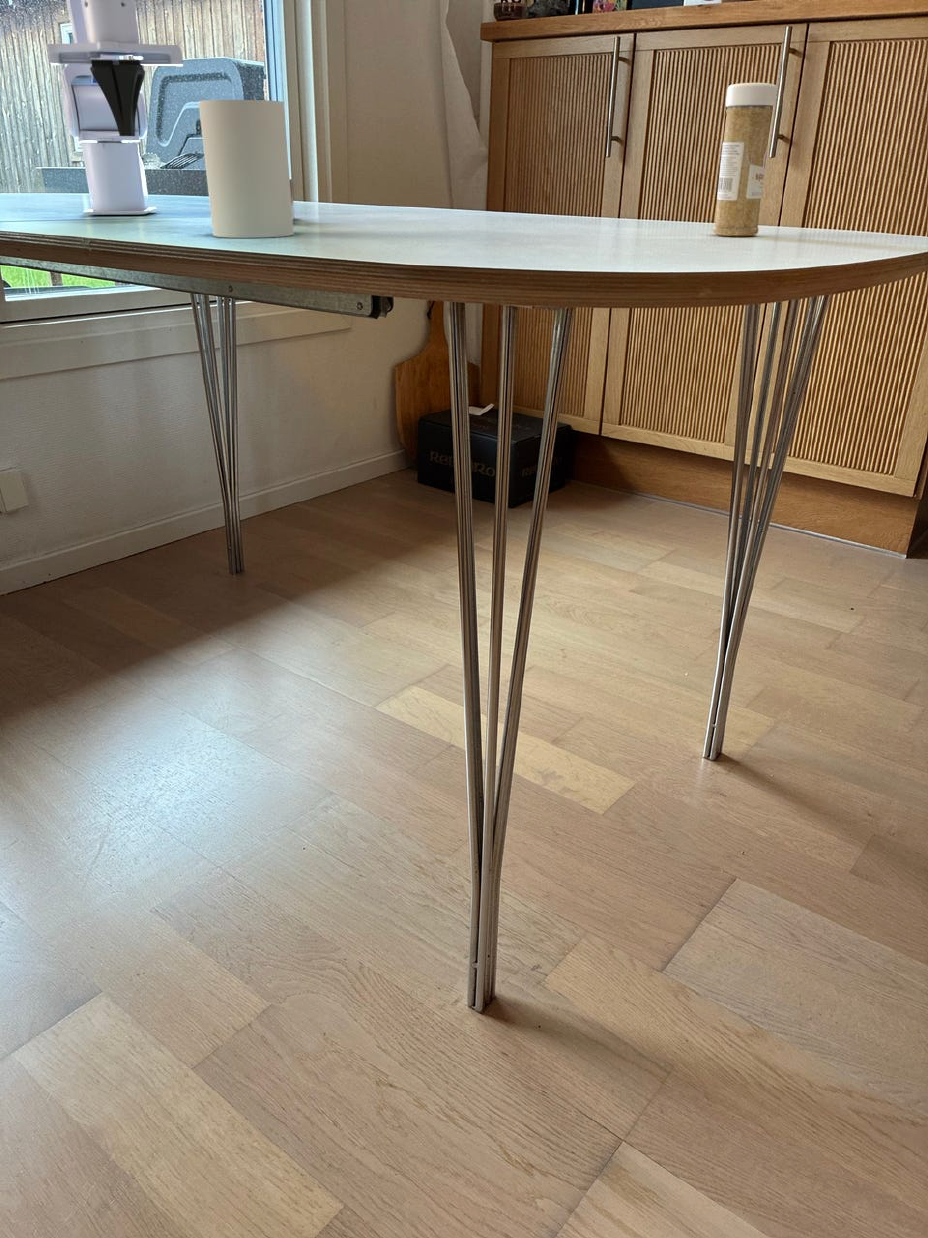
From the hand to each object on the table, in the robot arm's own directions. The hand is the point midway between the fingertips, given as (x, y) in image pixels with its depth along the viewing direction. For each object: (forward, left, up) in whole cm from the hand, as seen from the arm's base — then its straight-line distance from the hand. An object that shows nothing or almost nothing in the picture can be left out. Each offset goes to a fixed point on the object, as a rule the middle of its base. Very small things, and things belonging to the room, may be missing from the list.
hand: (127, 136), depth 111 cm
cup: (+22, +16, -10) cm, 29 cm away
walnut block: (-3, +16, -9) cm, 19 cm away
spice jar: (+28, +65, -10) cm, 71 cm away
